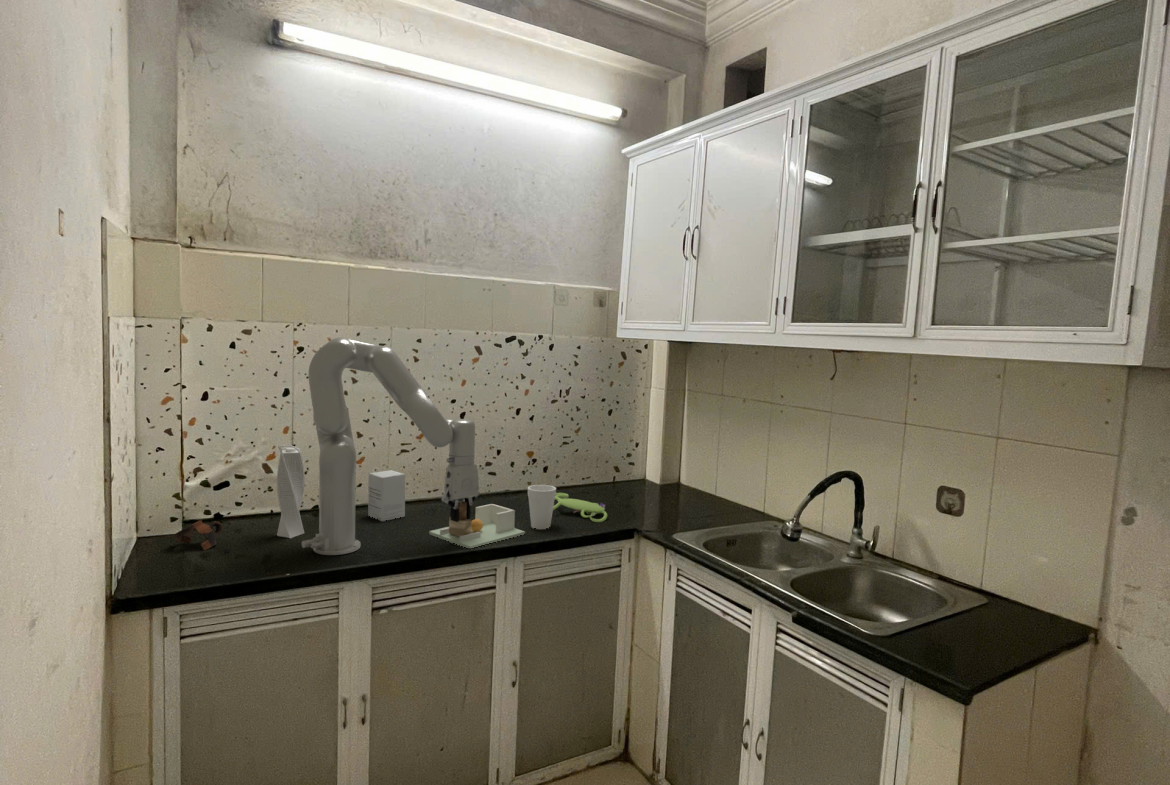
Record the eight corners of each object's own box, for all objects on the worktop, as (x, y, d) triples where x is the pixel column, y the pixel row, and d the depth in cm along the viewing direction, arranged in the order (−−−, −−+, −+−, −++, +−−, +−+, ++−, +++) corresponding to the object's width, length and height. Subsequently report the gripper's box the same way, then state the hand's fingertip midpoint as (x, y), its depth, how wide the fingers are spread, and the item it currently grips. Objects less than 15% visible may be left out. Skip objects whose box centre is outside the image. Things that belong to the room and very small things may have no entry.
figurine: (549, 503, 242) (549, 489, 242) (616, 511, 234) (617, 496, 234) (530, 515, 224) (531, 500, 224) (603, 524, 217) (603, 508, 216)
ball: (475, 534, 196) (475, 521, 195) (467, 531, 198) (467, 519, 198) (485, 531, 199) (485, 519, 198) (477, 529, 201) (477, 516, 201)
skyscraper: (289, 540, 186) (289, 446, 184) (270, 536, 189) (270, 443, 187) (309, 533, 194) (310, 442, 192) (290, 529, 196) (291, 440, 194)
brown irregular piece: (196, 556, 172) (180, 530, 171) (180, 564, 177) (164, 539, 176) (235, 533, 183) (220, 509, 182) (218, 542, 187) (204, 518, 186)
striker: (462, 538, 190) (463, 505, 189) (448, 533, 195) (448, 501, 194) (471, 536, 193) (472, 503, 192) (457, 531, 197) (458, 499, 196)
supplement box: (391, 511, 221) (391, 469, 220) (405, 517, 215) (406, 473, 214) (367, 516, 214) (367, 472, 213) (381, 521, 209) (382, 477, 207)
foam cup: (542, 521, 217) (543, 483, 216) (560, 527, 210) (561, 488, 209) (520, 525, 210) (521, 487, 209) (538, 532, 204) (540, 492, 203)
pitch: (469, 549, 184) (470, 526, 184) (429, 534, 197) (429, 512, 197) (524, 534, 201) (525, 512, 200) (484, 521, 214) (484, 500, 213)
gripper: (446, 465, 183) (445, 527, 185) (490, 458, 196) (489, 517, 197) (431, 461, 188) (430, 521, 189) (475, 455, 201) (474, 512, 202)
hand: (460, 518), depth 193 cm, fingers closed on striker, 3 cm apart
